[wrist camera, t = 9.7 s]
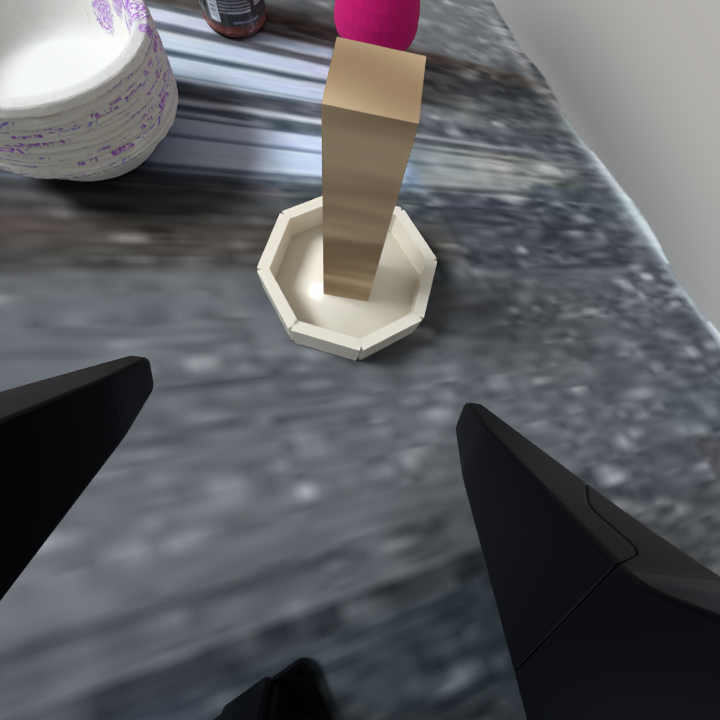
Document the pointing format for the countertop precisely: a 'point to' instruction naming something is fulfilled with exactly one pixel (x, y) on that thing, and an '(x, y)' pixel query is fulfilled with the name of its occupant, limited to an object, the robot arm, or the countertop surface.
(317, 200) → the bowl
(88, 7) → the paper bowls
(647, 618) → the robot arm
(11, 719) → the countertop surface
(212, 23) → the supplement bottle
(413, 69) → the tall wooden post
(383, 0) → the pepper mill
